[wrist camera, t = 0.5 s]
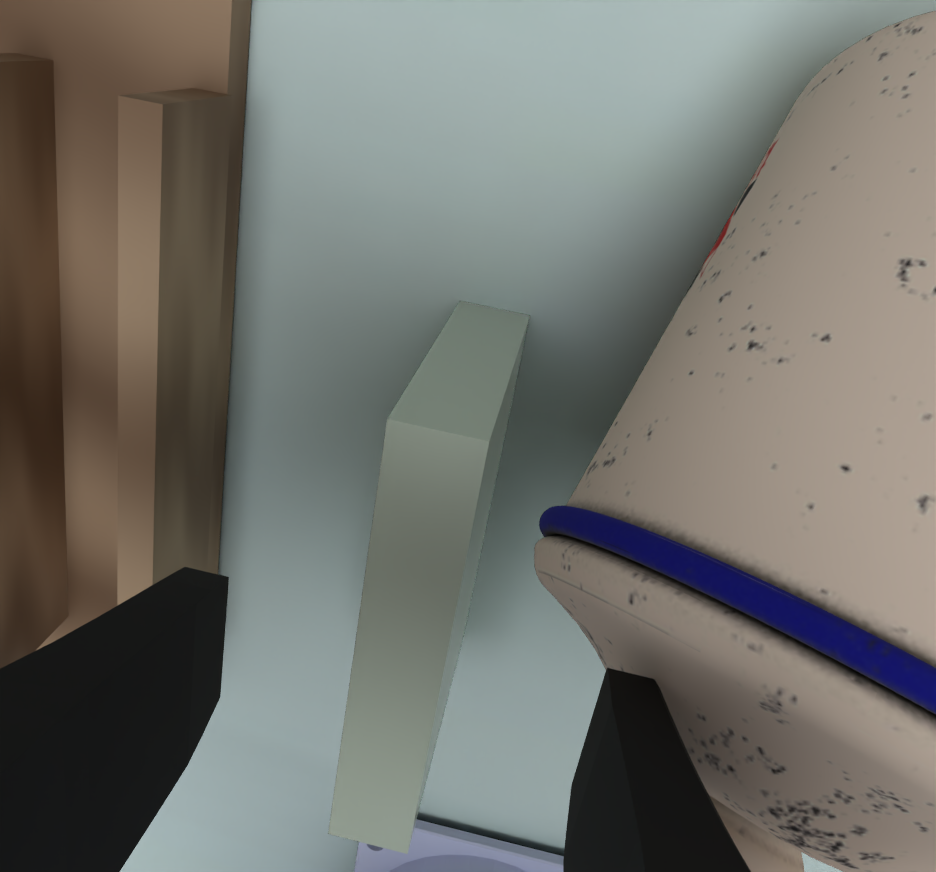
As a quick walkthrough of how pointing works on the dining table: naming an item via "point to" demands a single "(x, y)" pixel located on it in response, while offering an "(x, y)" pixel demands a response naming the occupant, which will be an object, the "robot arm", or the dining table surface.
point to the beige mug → (791, 486)
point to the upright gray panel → (423, 569)
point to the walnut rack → (113, 298)
